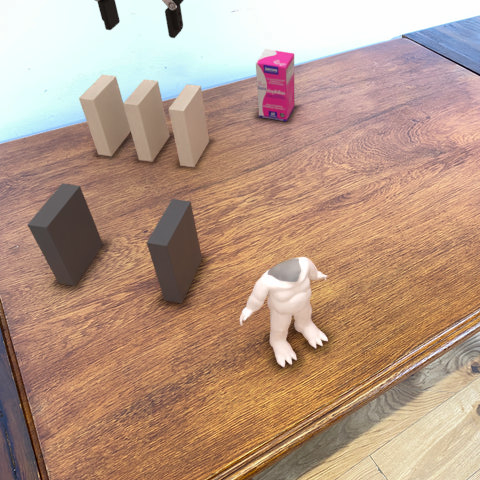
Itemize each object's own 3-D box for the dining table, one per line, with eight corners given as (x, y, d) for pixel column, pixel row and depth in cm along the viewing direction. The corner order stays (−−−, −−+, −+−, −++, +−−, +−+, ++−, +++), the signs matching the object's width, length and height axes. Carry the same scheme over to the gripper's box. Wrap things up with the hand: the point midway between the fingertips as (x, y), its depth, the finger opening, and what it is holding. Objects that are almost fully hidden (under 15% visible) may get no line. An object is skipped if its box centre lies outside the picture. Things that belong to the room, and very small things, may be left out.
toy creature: (264, 382, 60) (258, 321, 51) (239, 345, 63) (229, 282, 54) (346, 332, 65) (353, 270, 56) (318, 301, 68) (320, 237, 59)
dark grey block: (58, 283, 69) (26, 224, 61) (87, 241, 75) (62, 183, 67) (75, 286, 69) (46, 227, 61) (103, 244, 74) (80, 185, 66)
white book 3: (180, 165, 88) (168, 109, 80) (196, 139, 93) (186, 84, 85) (194, 167, 87) (183, 110, 80) (209, 141, 93) (200, 85, 85)
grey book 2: (164, 300, 67) (146, 242, 60) (185, 257, 73) (172, 198, 65) (182, 303, 67) (166, 245, 59) (202, 259, 73) (190, 201, 65)
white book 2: (138, 160, 89) (122, 103, 81) (157, 134, 94) (143, 79, 86) (152, 161, 88) (137, 105, 80) (170, 136, 94) (157, 80, 86)
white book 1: (98, 154, 89) (78, 98, 81) (118, 129, 95) (102, 74, 87) (111, 156, 89) (93, 99, 81) (131, 131, 95) (116, 75, 87)
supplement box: (258, 118, 99) (254, 62, 91) (267, 102, 103) (264, 47, 95) (287, 123, 98) (285, 66, 90) (295, 107, 102) (294, 51, 94)
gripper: (33, -108, 61) (76, 34, 73) (171, -94, 60) (191, 48, 72) (66, -121, 66) (101, 13, 79) (194, -109, 65) (209, 26, 77)
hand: (144, 30), depth 75 cm, fingers open, 9 cm apart
